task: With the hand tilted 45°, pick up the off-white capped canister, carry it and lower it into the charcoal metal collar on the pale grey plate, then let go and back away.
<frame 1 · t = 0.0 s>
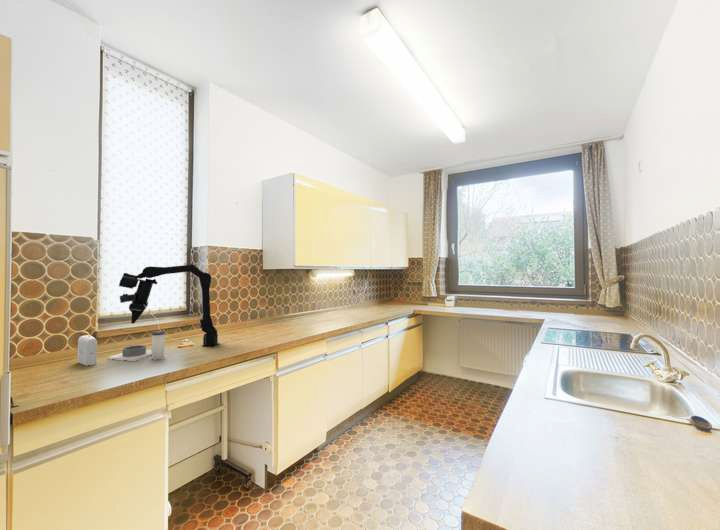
hand: (133, 321, 156), 15 cm above the counter, tool pointing down, fingers open, 9 cm apart
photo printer: (87, 363, 140), on the counter
collar: (134, 355, 152), on the counter
canister: (158, 358, 148), on the counter
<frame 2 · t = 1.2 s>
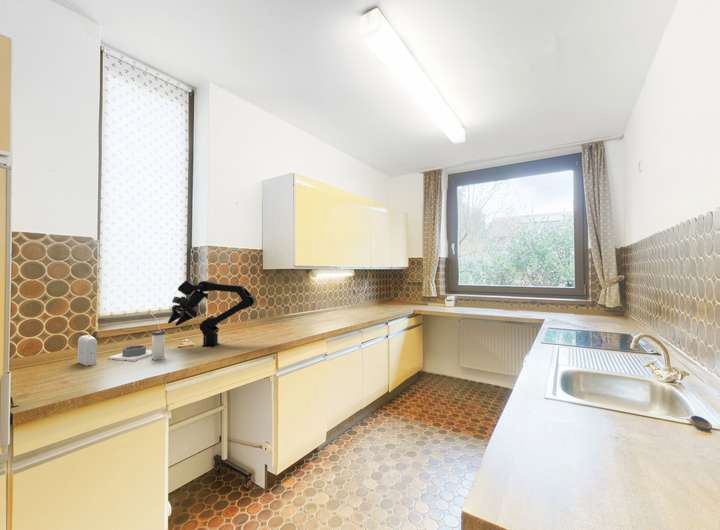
hand: (172, 324, 163), 13 cm above the counter, tool tilted 45°, fingers open, 9 cm apart
nothing on the counter moved.
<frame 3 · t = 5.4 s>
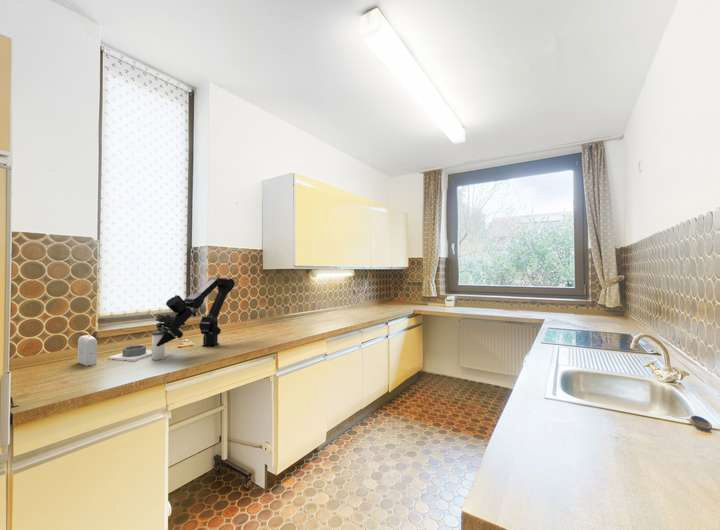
hand: (154, 345, 147), 7 cm above the counter, tool tilted 45°, fingers closed on canister, 5 cm apart
canister: (158, 358, 148), on the counter, touching gripper
everything else where it was.
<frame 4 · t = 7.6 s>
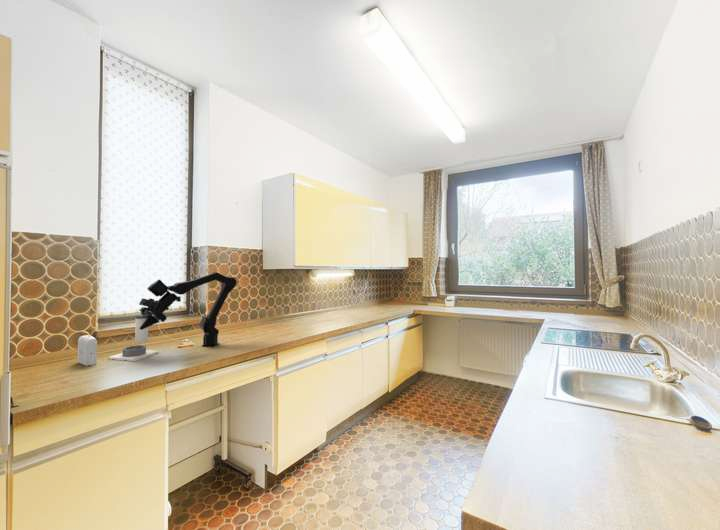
hand: (138, 328, 149), 14 cm above the counter, tool tilted 45°, fingers closed on canister, 5 cm apart
canister: (141, 341, 150), point 7 cm above the counter, touching gripper
everything else where it was.
when the fingers open (9 cm above the counter, at t = 10.2 s): canister drops 1 cm, resting on collar.
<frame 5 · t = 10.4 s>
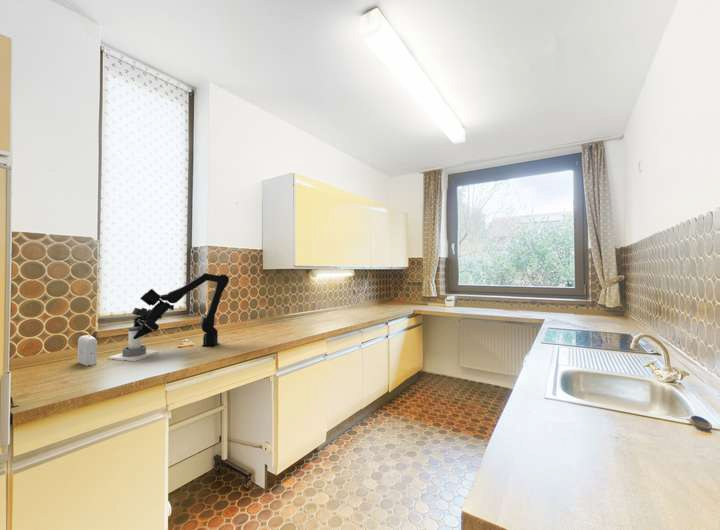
hand: (131, 337, 151), 9 cm above the counter, tool tilted 45°, fingers open, 7 cm apart
canister: (134, 353, 152), point 1 cm above the counter, touching collar
everything else where it was.
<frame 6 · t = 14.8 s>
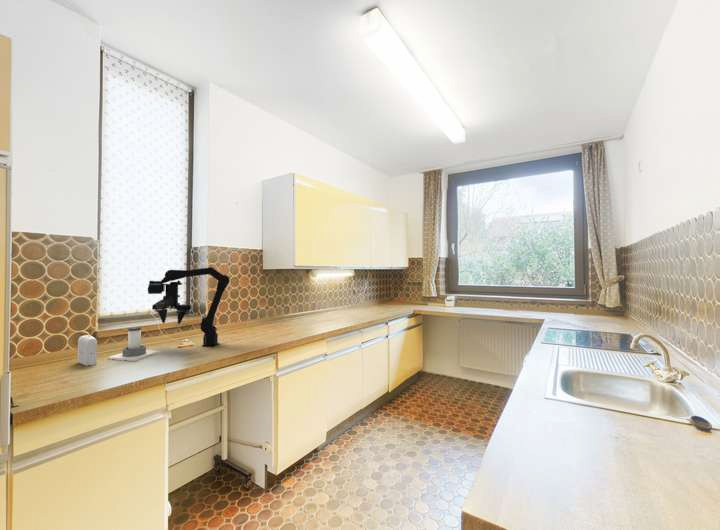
hand: (171, 323, 166), 13 cm above the counter, tool pointing down, fingers open, 9 cm apart
nothing on the counter moved.
at the end: canister 0.1 cm off-centre on the collar, point 1.0 cm above the collar's base; canister tilted 1°; the gripper is holding nothing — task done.
